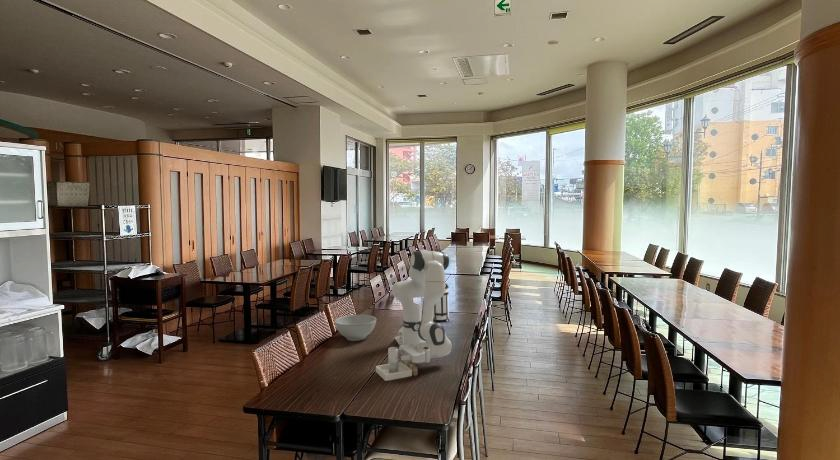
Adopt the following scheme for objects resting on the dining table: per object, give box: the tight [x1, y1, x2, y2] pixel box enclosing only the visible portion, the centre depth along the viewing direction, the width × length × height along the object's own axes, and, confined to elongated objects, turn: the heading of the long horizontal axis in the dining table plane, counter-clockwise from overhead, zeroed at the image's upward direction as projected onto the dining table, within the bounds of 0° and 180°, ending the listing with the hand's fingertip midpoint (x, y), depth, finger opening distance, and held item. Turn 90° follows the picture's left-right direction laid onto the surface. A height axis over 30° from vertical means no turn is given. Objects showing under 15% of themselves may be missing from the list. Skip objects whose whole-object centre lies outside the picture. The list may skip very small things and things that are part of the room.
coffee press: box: [433, 282, 450, 323], centre depth 336 cm, size 17×16×30 cm
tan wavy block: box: [402, 360, 419, 376], centre depth 236 cm, size 14×2×4 cm, turn 25°
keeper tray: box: [375, 361, 413, 382], centre depth 233 cm, size 14×14×3 cm
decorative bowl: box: [334, 314, 377, 342], centre depth 298 cm, size 27×27×12 cm
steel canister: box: [387, 346, 399, 373], centre depth 232 cm, size 5×5×12 cm
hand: (397, 355), depth 233 cm, fingers open, 8 cm apart
